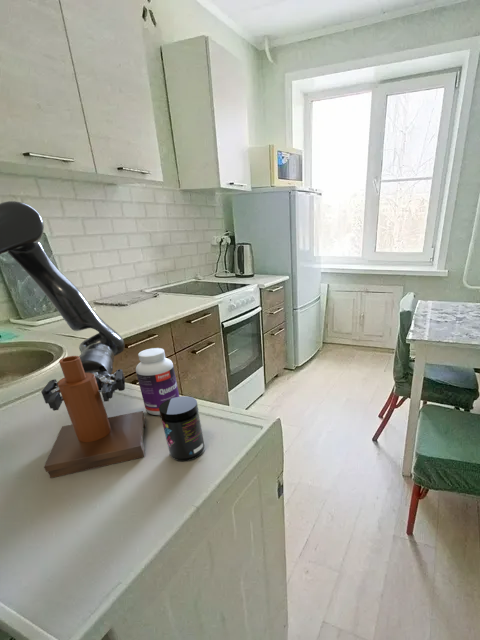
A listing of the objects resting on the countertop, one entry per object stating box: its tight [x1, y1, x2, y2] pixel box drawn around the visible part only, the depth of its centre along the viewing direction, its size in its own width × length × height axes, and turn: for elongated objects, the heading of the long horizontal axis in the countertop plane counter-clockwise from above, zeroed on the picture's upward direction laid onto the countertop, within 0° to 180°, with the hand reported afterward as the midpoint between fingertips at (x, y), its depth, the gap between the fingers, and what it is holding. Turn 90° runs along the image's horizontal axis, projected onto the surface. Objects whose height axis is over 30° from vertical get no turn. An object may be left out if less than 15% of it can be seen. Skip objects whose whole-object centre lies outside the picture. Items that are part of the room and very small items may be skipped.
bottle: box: [57, 355, 111, 442], centre depth 67 cm, size 6×6×16 cm
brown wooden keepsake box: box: [43, 410, 147, 479], centre depth 70 cm, size 16×14×3 cm
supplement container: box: [159, 395, 205, 462], centre depth 66 cm, size 7×7×10 cm
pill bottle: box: [135, 347, 180, 416], centre depth 81 cm, size 8×8×14 cm
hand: (79, 401), depth 65 cm, fingers open, 8 cm apart
